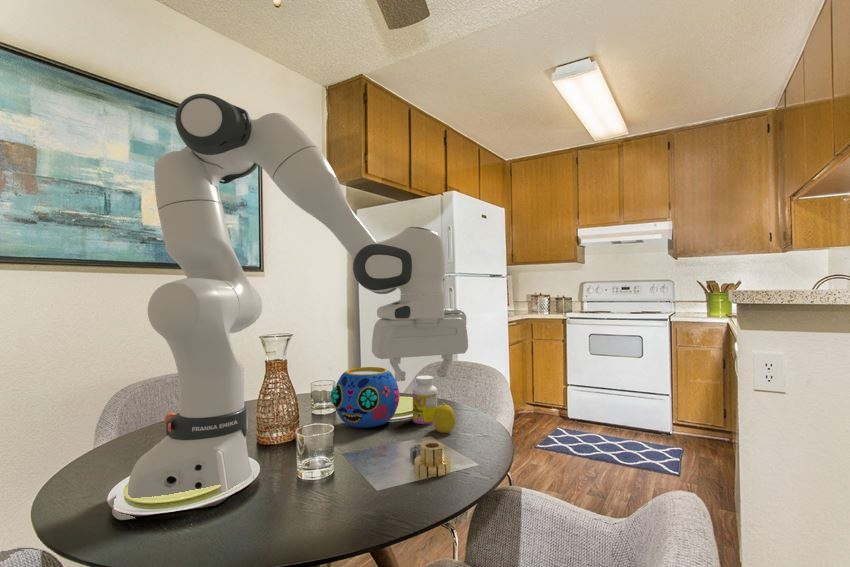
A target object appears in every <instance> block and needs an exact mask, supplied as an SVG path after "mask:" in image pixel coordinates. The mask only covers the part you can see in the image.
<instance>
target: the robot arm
mask: <svg viewBox="0 0 850 567" xmlns="http://www.w3.org/2000/svg"><path fill="white" fill-rule="evenodd" d="M175 112H176V113H175V117H174V122H175V127H176V130H177V133H178V135H179V136H180V139H181V140H182V141H183V143H184V144H185V147H184V148H181V150H175V151H171V152H167V153H165V154H163V155H161V157H159V158H158V160H157V161H156V163H155V167H154V190H155V193H154V194H155V201H156V206H157V207H156V208H157V212H158V217H159V222H160V226H161V231H162V236H163V241H164V246H165V250H166V252H167V254H168V255H169V257H170V258H171V259H172V260H173V261H174V262H176V263H177V264H178V266H179V268H180V269H181V270H182V271H183V272H184V274H185V276H186V278H182V279H177V280H173V281H170V282H166V283H165V284H164V283H163V284H162V285H160V286H159V287H157V289H155V290H154V292H152V294H151V296H150V298H149V300H148V304H147V317H148V321H149V323H150V325H151V327H152V328H153V329H154V331H156V333H158V334H159V335H160V336H161V337H162V338H164V340H165V341H166V343H167V344H168V347H169V349H170V351H171V353H172V356H173V359H174V362H175V366H176V371H177V379H178V380H177V381H178V408H179V410H178V413H175V412H168V413H167V414H166V415H165V417H164V421H163V422H164V423H165V426H166V427H165V434H166V436H165V437H164V438H163V439H161V440H160V441H159V442H157V443H156V444H155V445H154V446H153V447H152V448H150V449H149V450H147V451H146V452H145V453H144V454H143V455H141V457H139V459H138V460H137V461H136V463H135V464H134V466H133V467H132V469H131V472H130V476H129V479H128V484H127V485H128V495H129V496H130V497H131V498H141V497H152V496H153V497H154V496H161V495H169V494H174V493H179V492H185V491H189V490H195V489H201V488H206V487H210V486H214V485H219V484H220V485H221V488H219V489H218V490H217V491H218V492H226V491H228V490H230V489H231V488H233V487H234V486H236V485H238V484H239V483H241V482H243V481H245V480H247V479H248V478H249V477H250V476H251V474H252V472H253V470H252V466H251V462H250V460H249V459H250V458H249V453H248V447H247V437H246V436H247V435H248V434H247V433H248V425H249V423H248V422H249V421H248V411H247V406H246V405H245V367H244V365H243V363H242V362H241V361H240V360H239V359H238V358H237V356H236V353H235V352H234V349H233V347H232V342H231V338H230V334H234V333H238V332H242V331H243V330H246V329H247V328H249V327H250V326H252V325H253V324H254V323H256V321H257V320H258V319H259V318H260V316H261V314H262V312H263V311H262V310H263V301H262V297H261V295H260V292H258V291H257V289H256V288H255V287H254V286H253V285H252V284H251V283H250V281H249V279H248V278H247V275H246V273H245V271H244V269H243V267H242V265H241V262H240V261H239V259H238V257H237V254H236V252H235V249H234V247H233V244H232V240H231V238H230V234H229V230H228V225H227V220H226V216H225V211H224V206H223V202H222V199H221V198H222V197H221V193H220V184H222V185H226V184H229V183H232V182H233V181H236V180H238V179H241V178H244V177H247V176H249V175H251V174H252V173H253V172H254V171H256V169H257V167H258V166H259V167H261V168H262V169H263V171H264V172H266V174H267V175H268V176H269V178H270V179H271V180H272V181H273V183H274V184H275V185H276V187H278V189H279V190H280V192H282V193H283V194H284V195H285V197H287V198H288V199H289V200H290V201H292V203H294V204H295V205H296V206H297V207H299V208H300V209H301V210H302V211H304V212H306V213H307V214H308V215H311V217H313V218H315V219H316V220H317V221H318V222H320V223H321V224H323V225H324V226H326V228H327V229H328V230H329V231H330V232H331V233H332V234H333V236H334V237H335V238H336V239H337V240H338V241H339V243H340V244H341V245H342V247H344V248H345V249H346V251H347V252H348V253H349V255H350V256H351V257H352V259H353V262H352V272H353V275H354V276H353V277H354V278H355V280H356V281H357V283H358V284H359V285H361V286H362V287H363V288H364V289H366V290H367V291H370V292H371V293H374V294H378V295H387V294H390V293H393V292H395V291H396V290H397V289H398V290H399V291H400V299H399V300H396V301H394V302H391V303H388V304H384V305H381V306H379V307H378V308H377V310H376V316H377V317H378V318H379V319H378V320H377V321H376V322H375V324H374V326H373V331H372V332H373V333H372V337H371V338H372V339H371V340H372V342H371V352H372V354H373V355H374V357H375V358H377V359H380V360H389V364H390V366H391V367H392V370H393V371H394V378H395V380H396V382H404V381H406V371H403V370H402V369H401V367H400V366H399V365H400V364H401V359H404V358H417V357H433V356H441V359H443V360H442V362H441V364H440V366H439V367H436V371H437V372H436V375H437V377H439V378H447V377H448V369H449V367H450V365H451V363H452V361H453V355H458V354H459V355H460V354H461V355H462V354H463V355H464V354H466V352H467V351H468V349H469V340H468V329H467V314H466V313H465V312H464V311H462V310H461V309H460V308H454V309H453V308H452V309H451V308H445V298H446V296H445V295H446V294H445V290H444V277H445V275H446V274H445V272H446V267H445V266H446V263H445V262H446V258H445V257H446V256H445V255H446V254H445V246H444V241H443V239H442V237H441V235H440V234H439V233H438V232H436V231H435V230H432V229H428V228H424V227H417V226H409V227H406V228H405V229H404V230H403V231H401V232H400V233H398V234H396V235H394V236H392V237H389V238H386V239H384V240H382V241H377V240H376V239H375V238H374V236H372V234H371V233H370V232H369V231H368V229H367V227H365V225H364V224H363V223H362V222H361V221H360V219H359V218H358V216H357V215H356V214H355V213H354V211H353V209H352V208H351V206H350V204H349V202H348V199H347V197H346V195H345V193H344V191H343V189H342V188H343V187H342V186H341V184H340V181H339V179H338V177H337V176H336V173H335V170H334V169H333V168H332V166H331V164H330V163H329V161H328V160H327V158H326V157H325V155H324V153H323V152H322V150H320V148H319V147H318V146H317V145H316V144H315V142H314V141H313V140H312V139H311V138H310V137H309V136H308V135H307V133H305V131H303V130H302V129H301V128H300V127H299V126H298V125H297V124H296V122H294V121H293V120H291V119H290V118H289V117H287V116H286V115H285V114H282V113H277V112H270V113H267V114H265V115H262V116H260V117H259V118H256V119H251V116H250V115H249V113H248V111H247V110H245V109H244V108H242V107H239V106H237V105H234V104H231V103H230V102H228V101H226V100H224V99H222V98H220V97H218V96H216V95H212V94H209V93H208V94H207V93H196V94H192V95H190V96H188V97H185V99H184V100H182V101H181V102H180V104H179V105H178V106H177V109H176V111H175ZM128 504H129V505H132V506H133V505H134V504H133V503H132V502H130V501H128ZM111 514H112V516H113V517H114V518H115V519H117V520H119V521H125V520H130V519H131V520H133V519H136V518H135V517H133V516H130V515H126V514H121V513H119V512H117V511H115V510H114V509H112V508H111Z"/></svg>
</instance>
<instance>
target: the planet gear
mask: <svg viewBox="0 0 850 567" xmlns="http://www.w3.org/2000/svg"><path fill="white" fill-rule="evenodd" d="M440 442H441V441H440ZM440 442H433V441H432V442H425V443H422V445H421V446H420V449H421V456H420V455H419V456H417V457H416V458H415V461H414V465H415V472H416V473H417V474H420V475H422V476H426V477H427V476H428V477H430V478H436V477H443V476H445V475H448V474H449V472H450V471H451V461H450V457H448V456H446V455H444V444H445V443H443V442H441V443H440ZM442 443H443V444H442ZM450 473H451V472H450ZM436 475H437V476H436Z"/></svg>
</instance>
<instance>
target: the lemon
mask: <svg viewBox="0 0 850 567" xmlns="http://www.w3.org/2000/svg"><path fill="white" fill-rule="evenodd" d="M433 423H434V425H433V426H434V428H435V430H436V431H437V432H438V433H441V434H447V433H451V432H452V430H454V428H455V426H456V416H455V412H454V409H453V408H452V407H451V406H450V405H448V404H446V403H445V402H443V403H442V404H440V405H437V408H436V409H435V411H434V415H433Z"/></svg>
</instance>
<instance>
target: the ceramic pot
mask: <svg viewBox="0 0 850 567" xmlns="http://www.w3.org/2000/svg"><path fill="white" fill-rule="evenodd" d="M330 401H331V403H332V404H333V406H334V407H335V410H336V413H337V415H338V417H339V418H340V420H341V421H342V422H343V423H345V425H347V426H350V427H353V428H357V429H358V428H359V429H360V428H361V429H367V428H376V427H380V426H382V425H384V424H386V423H388V422H389V421H390V420H392V419H393V417H394V415H395V413H396V411H397V409H398V407H399V403H400V390H399V385H398V381H396V380H395V375H394V374H392V372H391V371H390V370H389V369H388V368H384V367H378V366H377V367H376V366H366V367H365V366H364V367H363V366H362V367H355V368H349V369H347V370H345V371H344V372H343V373H342V374H341V375H340V377H339V379H338V380H337V383H336V385H335V386H334V387H333V389H332V390H331V393H330Z"/></svg>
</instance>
